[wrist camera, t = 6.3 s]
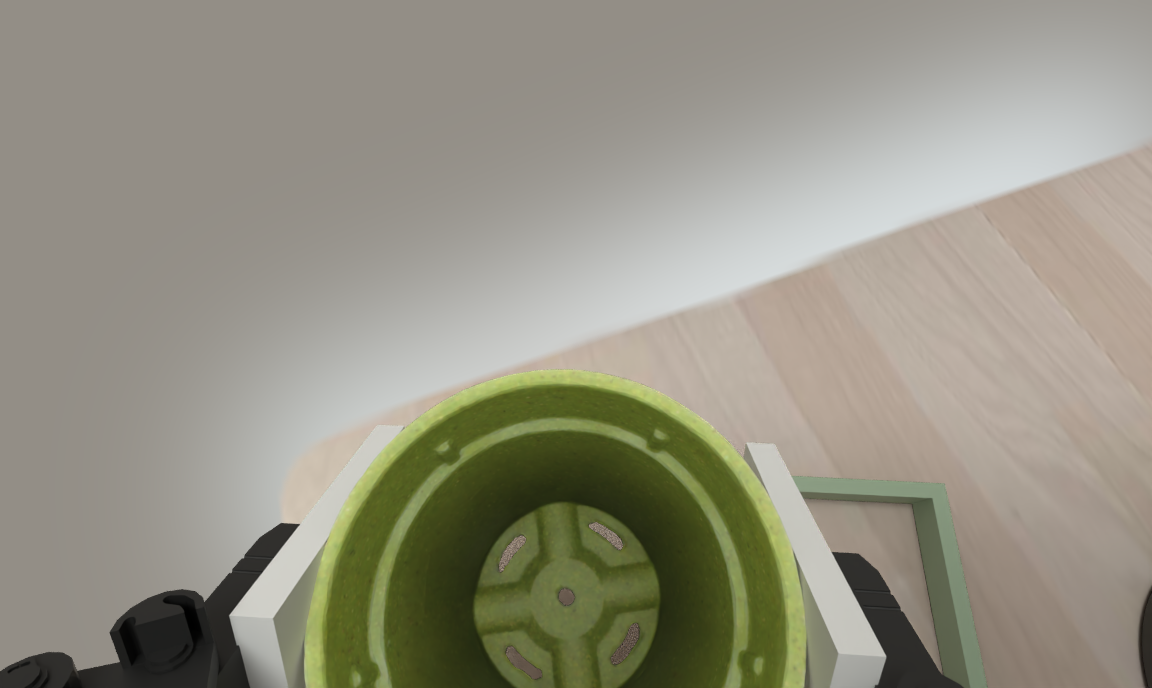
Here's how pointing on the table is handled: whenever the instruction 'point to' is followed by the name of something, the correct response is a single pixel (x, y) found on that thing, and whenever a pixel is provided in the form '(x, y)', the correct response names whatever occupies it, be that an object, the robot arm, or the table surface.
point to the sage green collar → (924, 563)
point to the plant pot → (557, 550)
